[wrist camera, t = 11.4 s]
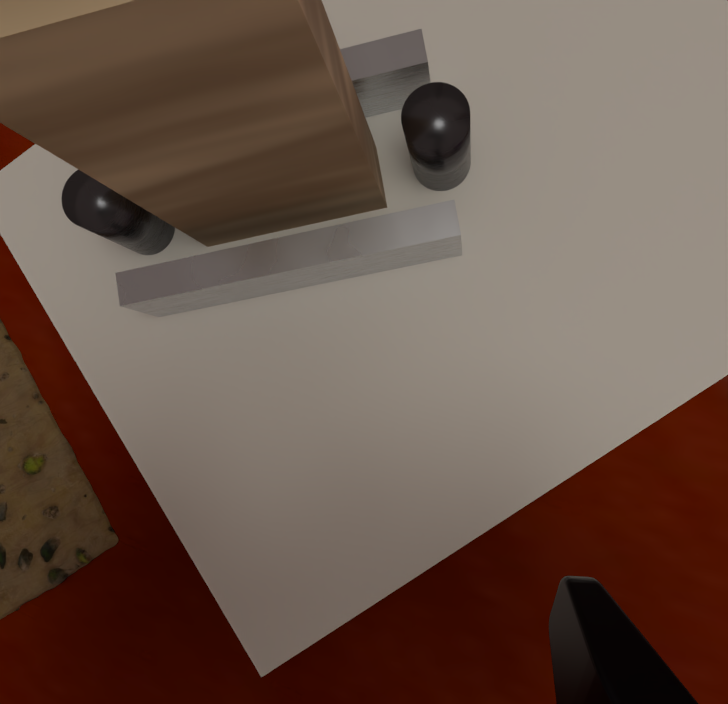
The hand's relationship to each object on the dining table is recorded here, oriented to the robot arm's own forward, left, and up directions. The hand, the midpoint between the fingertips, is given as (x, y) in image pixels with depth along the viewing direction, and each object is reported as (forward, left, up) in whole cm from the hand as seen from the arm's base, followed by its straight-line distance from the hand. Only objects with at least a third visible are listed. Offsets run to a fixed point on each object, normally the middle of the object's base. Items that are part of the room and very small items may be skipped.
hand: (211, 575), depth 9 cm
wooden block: (+3, +9, -12) cm, 15 cm away
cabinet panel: (+5, +6, -13) cm, 16 cm away
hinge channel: (+3, +9, -12) cm, 15 cm away
